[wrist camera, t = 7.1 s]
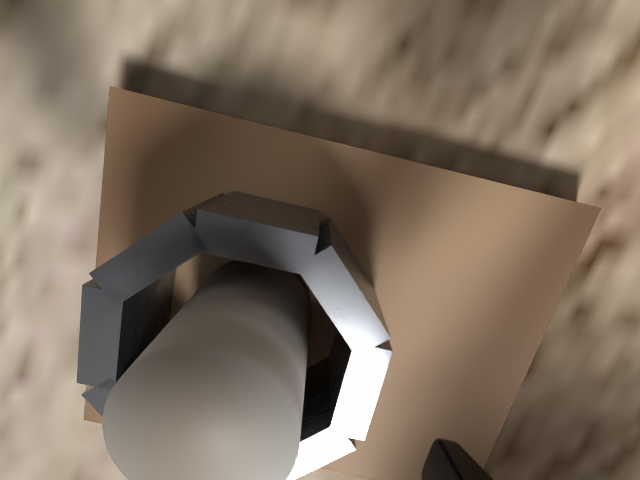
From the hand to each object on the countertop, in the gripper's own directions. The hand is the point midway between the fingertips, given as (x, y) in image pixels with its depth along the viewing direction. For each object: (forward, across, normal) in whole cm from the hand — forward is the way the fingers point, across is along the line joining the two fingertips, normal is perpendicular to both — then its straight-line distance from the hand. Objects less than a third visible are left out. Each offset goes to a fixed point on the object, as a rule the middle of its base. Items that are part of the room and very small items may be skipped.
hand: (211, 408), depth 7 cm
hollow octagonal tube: (+4, 0, 0) cm, 4 cm away
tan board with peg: (+5, -2, 0) cm, 6 cm away
